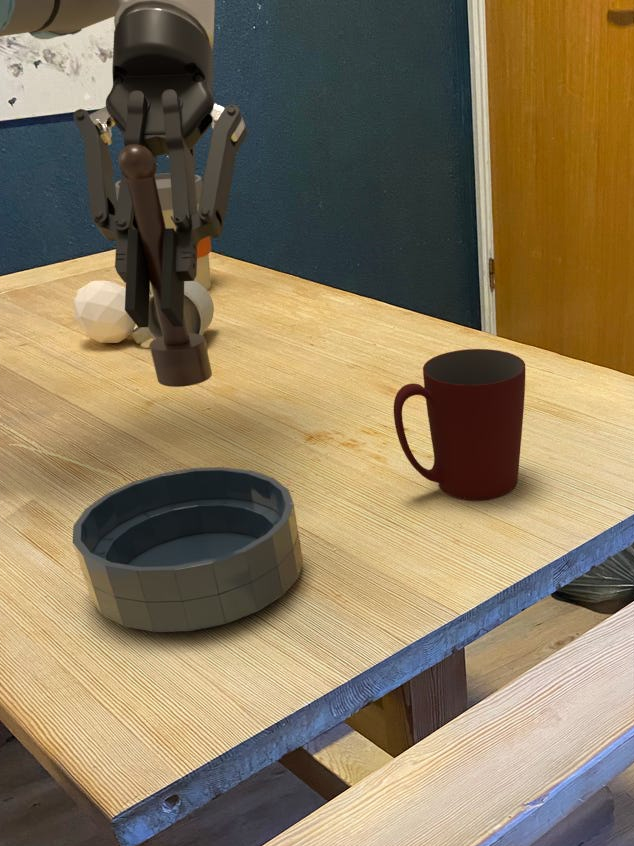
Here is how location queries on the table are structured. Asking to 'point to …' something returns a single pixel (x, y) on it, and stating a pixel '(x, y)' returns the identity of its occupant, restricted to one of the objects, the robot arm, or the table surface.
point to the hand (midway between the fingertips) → (154, 317)
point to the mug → (470, 421)
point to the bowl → (189, 548)
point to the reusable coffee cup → (167, 209)
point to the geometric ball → (103, 312)
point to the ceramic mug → (195, 312)
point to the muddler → (177, 349)
